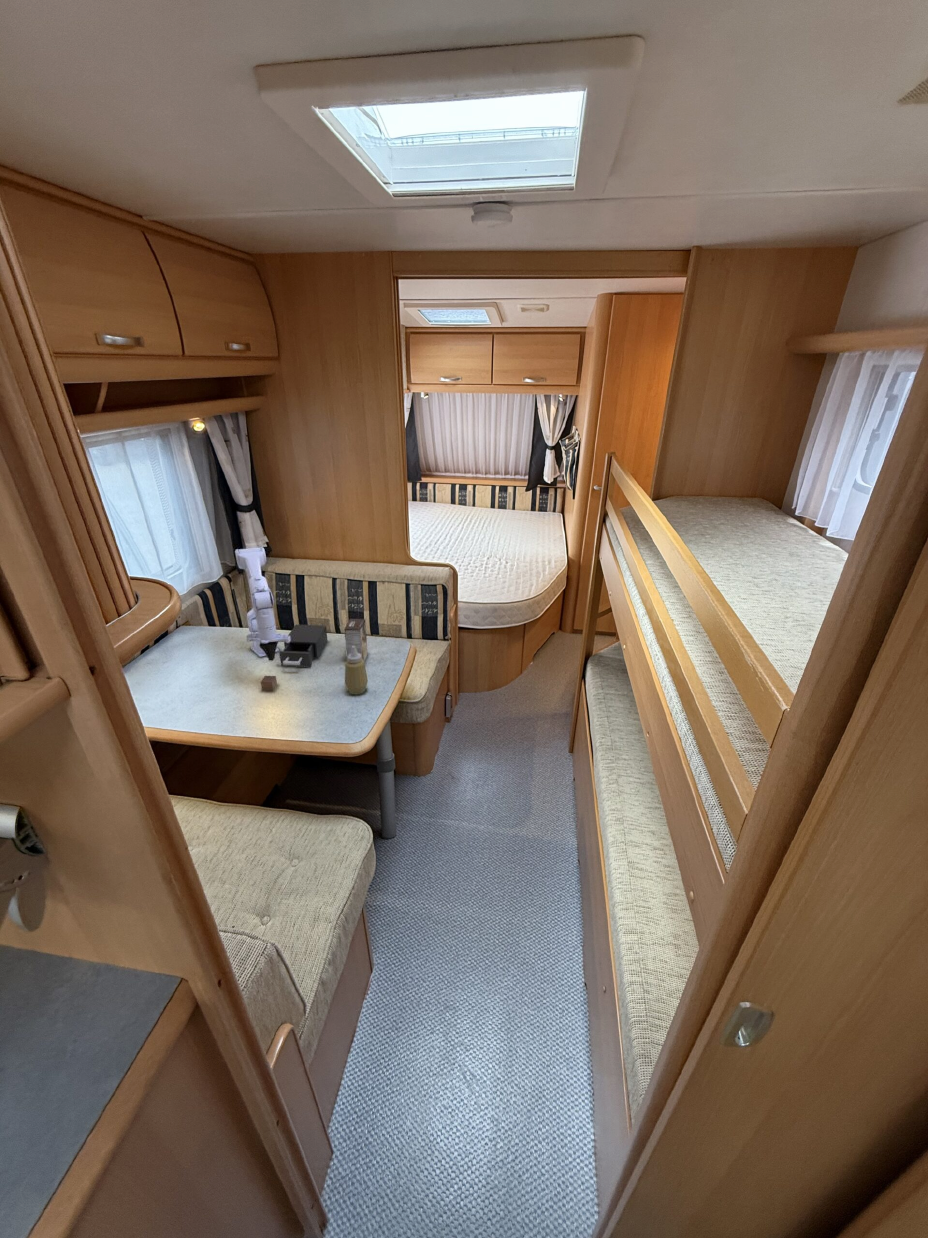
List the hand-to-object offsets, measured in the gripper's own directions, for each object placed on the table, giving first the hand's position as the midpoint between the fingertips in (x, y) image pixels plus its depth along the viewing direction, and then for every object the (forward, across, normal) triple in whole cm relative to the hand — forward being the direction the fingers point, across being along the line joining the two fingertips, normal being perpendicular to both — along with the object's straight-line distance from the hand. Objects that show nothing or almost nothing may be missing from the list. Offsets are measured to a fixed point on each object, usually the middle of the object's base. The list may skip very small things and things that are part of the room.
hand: (271, 659), depth 174 cm
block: (+10, -1, -3) cm, 11 cm away
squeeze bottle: (+11, +30, -2) cm, 32 cm away
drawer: (+10, +4, +16) cm, 19 cm away
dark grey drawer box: (+10, +4, +26) cm, 28 cm away
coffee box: (+11, +26, +19) cm, 34 cm away
